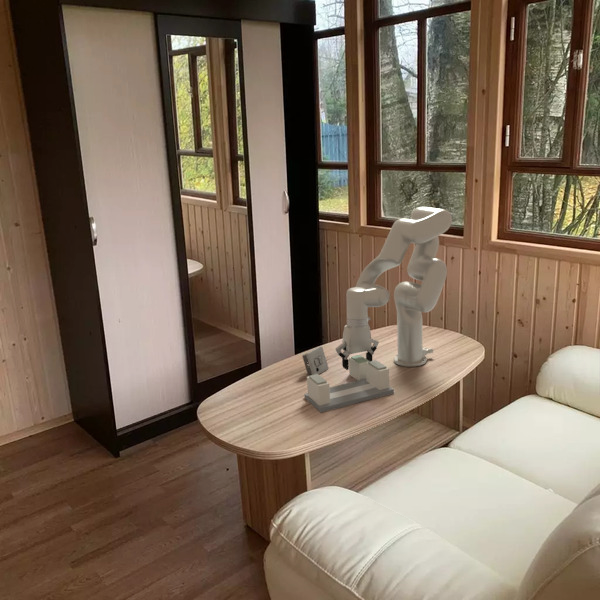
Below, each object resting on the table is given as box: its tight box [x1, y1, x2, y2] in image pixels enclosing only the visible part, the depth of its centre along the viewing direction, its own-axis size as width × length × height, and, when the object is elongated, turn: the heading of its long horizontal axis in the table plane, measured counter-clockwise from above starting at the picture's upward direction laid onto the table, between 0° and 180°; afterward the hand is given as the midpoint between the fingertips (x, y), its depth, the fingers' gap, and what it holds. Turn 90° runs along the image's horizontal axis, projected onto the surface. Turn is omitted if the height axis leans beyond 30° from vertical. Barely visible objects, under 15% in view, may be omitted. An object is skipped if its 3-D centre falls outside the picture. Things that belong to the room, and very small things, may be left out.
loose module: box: [348, 354, 370, 381], centre depth 223 cm, size 4×8×8 cm, turn 24°
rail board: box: [303, 379, 395, 413], centre depth 209 cm, size 28×13×2 cm, turn 114°
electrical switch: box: [301, 346, 329, 376], centre depth 230 cm, size 9×5×9 cm, turn 141°
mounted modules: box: [306, 359, 390, 406], centre depth 207 cm, size 27×9×8 cm, turn 114°
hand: (357, 366), depth 222 cm, fingers open, 9 cm apart
